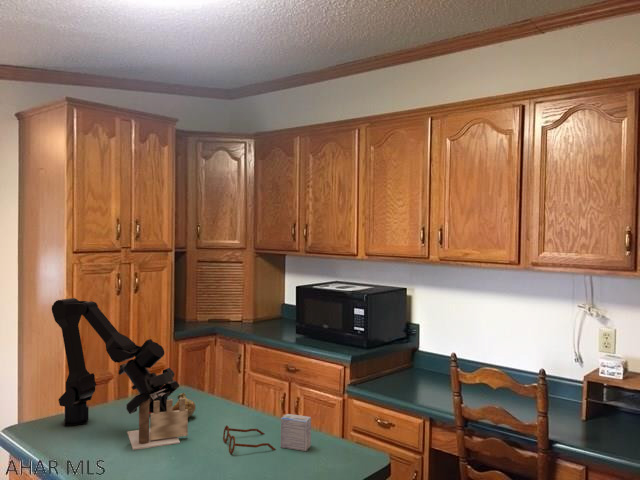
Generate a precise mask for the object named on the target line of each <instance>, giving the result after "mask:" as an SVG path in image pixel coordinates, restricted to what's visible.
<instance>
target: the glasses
mask: <svg viewBox="0 0 640 480" xmlns="http://www.w3.org/2000/svg"><path fill="white" fill-rule="evenodd" d="M230 432H239V433H240V432H241V433H249V432H258V433H259V434H260V435H262V436H263V435H265V433H264V432H263V431H262V430H261V429H259V428H249V429H241V428H230V427H229V425H225V426H224V428H223V433H222V440H223V442H224V443H227V442H228V439H229V442H228V453H229V454H230V455H233V453H234V450H235V447H241V448H258V447H266V446H268V447H269V448H270V449H271V450H272V451H276V450H277V449H276V448H275V447H274V446H272V444H270V443H269V442H268V443H266V442H265V443H263V442H262V443H259V444H247V443H246V444H245V443H236V437H235V435H231V433H230ZM232 441H233V442H232ZM232 444H233V445H232ZM231 445H232V449H231Z"/></svg>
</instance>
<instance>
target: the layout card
mask: <svg viewBox="0 0 640 480" xmlns="http://www.w3.org/2000/svg"><path fill="white" fill-rule="evenodd" d="M126 433H127V436H128V439H129V442H130V445H131V448H132V450H133V451H135V450H141V449H147V448H148V449H149V448H154V447H162V446H169V445H176V444H180V443H181V441H180V439H179V437H172V438H164V439H155V440H150V428H149V442H148V443H146V444H140V443H139V429H136V430H130V431H129V430H128V431H126Z"/></svg>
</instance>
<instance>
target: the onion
mask: <svg viewBox="0 0 640 480" xmlns="http://www.w3.org/2000/svg"><path fill="white" fill-rule="evenodd" d="M179 398H185V409H187V410H188V419H189V418H190V417H191V416H192V415H193V414H194V412H195V411H196V404H195V402H194V401H193V400H191V399H189V398H187V397H186V392H183V393H179V394H178V395H177V399H178V400H177V402H176V403H175V404H174V405H172V411H175V410H179Z"/></svg>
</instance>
